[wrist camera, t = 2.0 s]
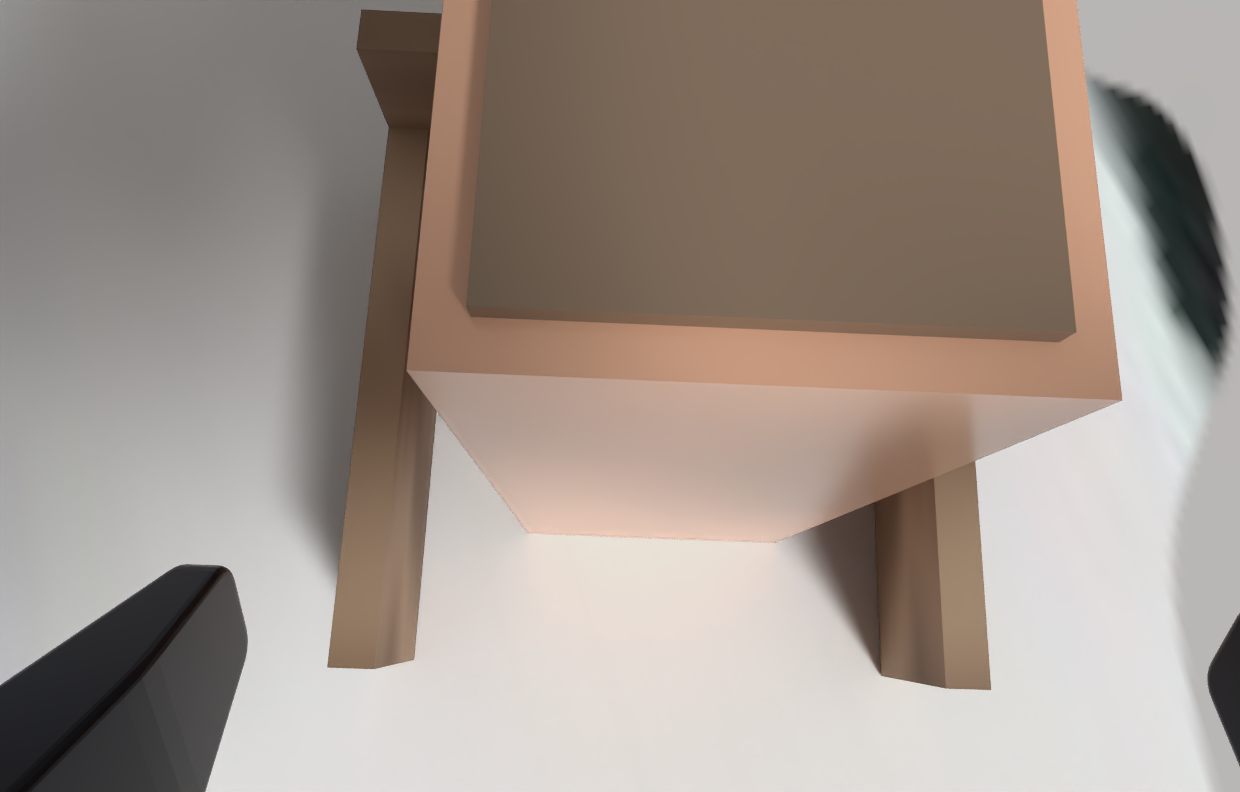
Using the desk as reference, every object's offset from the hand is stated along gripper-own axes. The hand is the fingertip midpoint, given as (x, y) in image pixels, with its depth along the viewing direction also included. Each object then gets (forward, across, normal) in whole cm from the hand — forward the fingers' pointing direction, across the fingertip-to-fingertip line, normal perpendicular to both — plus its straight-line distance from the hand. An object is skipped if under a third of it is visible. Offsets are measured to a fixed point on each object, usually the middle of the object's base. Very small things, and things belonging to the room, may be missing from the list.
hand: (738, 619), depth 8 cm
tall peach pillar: (+11, 0, +5) cm, 12 cm away
